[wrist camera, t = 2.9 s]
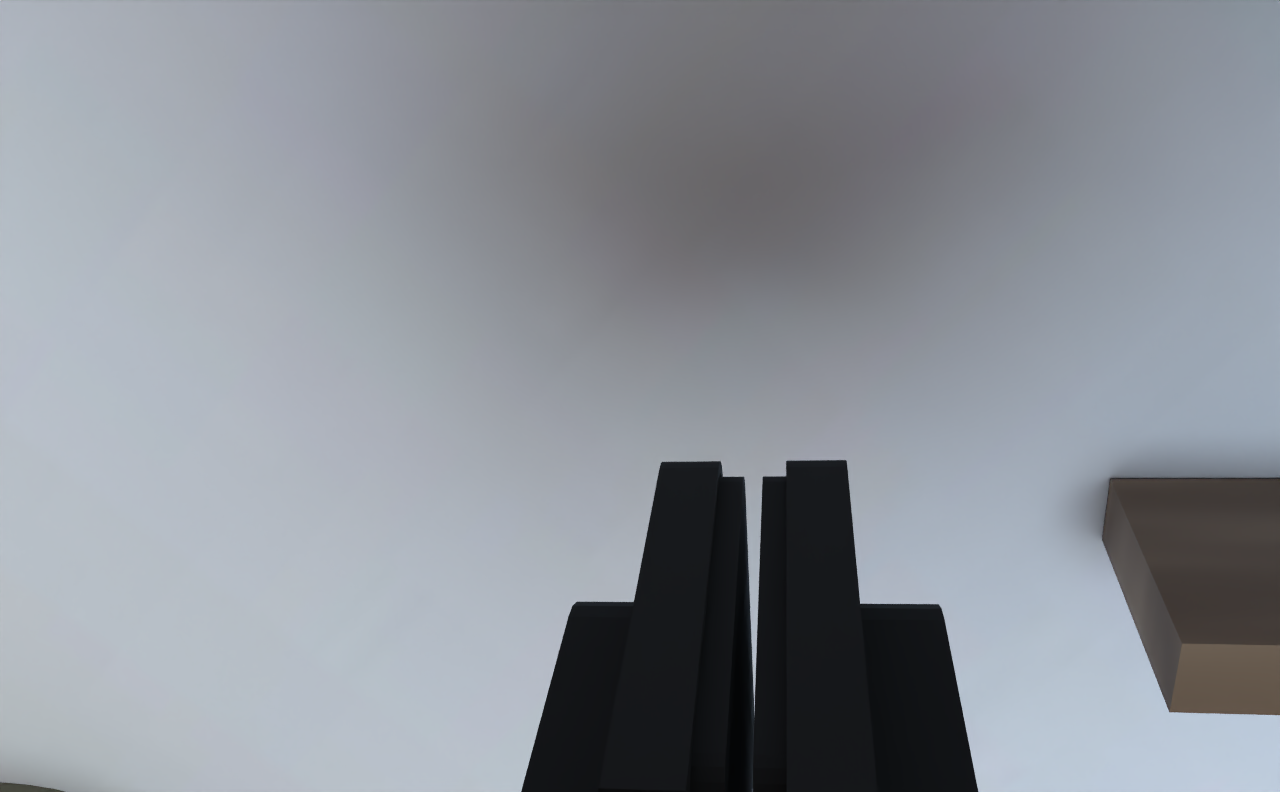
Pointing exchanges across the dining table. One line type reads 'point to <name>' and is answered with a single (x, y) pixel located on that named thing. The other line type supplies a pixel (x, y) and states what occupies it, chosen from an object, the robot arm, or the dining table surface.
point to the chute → (1202, 587)
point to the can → (24, 788)
